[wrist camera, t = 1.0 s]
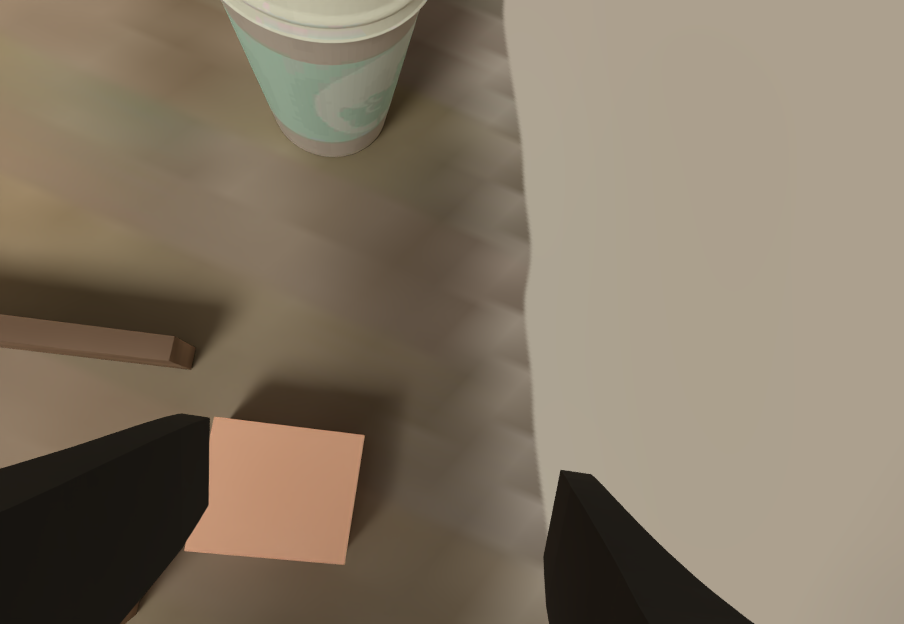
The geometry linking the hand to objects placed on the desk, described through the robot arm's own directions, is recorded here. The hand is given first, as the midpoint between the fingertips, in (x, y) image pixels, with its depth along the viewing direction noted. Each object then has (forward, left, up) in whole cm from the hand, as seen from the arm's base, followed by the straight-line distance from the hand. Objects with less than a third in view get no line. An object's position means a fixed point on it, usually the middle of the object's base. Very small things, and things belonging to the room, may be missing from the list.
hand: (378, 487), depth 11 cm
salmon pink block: (-1, +3, -15) cm, 15 cm away
